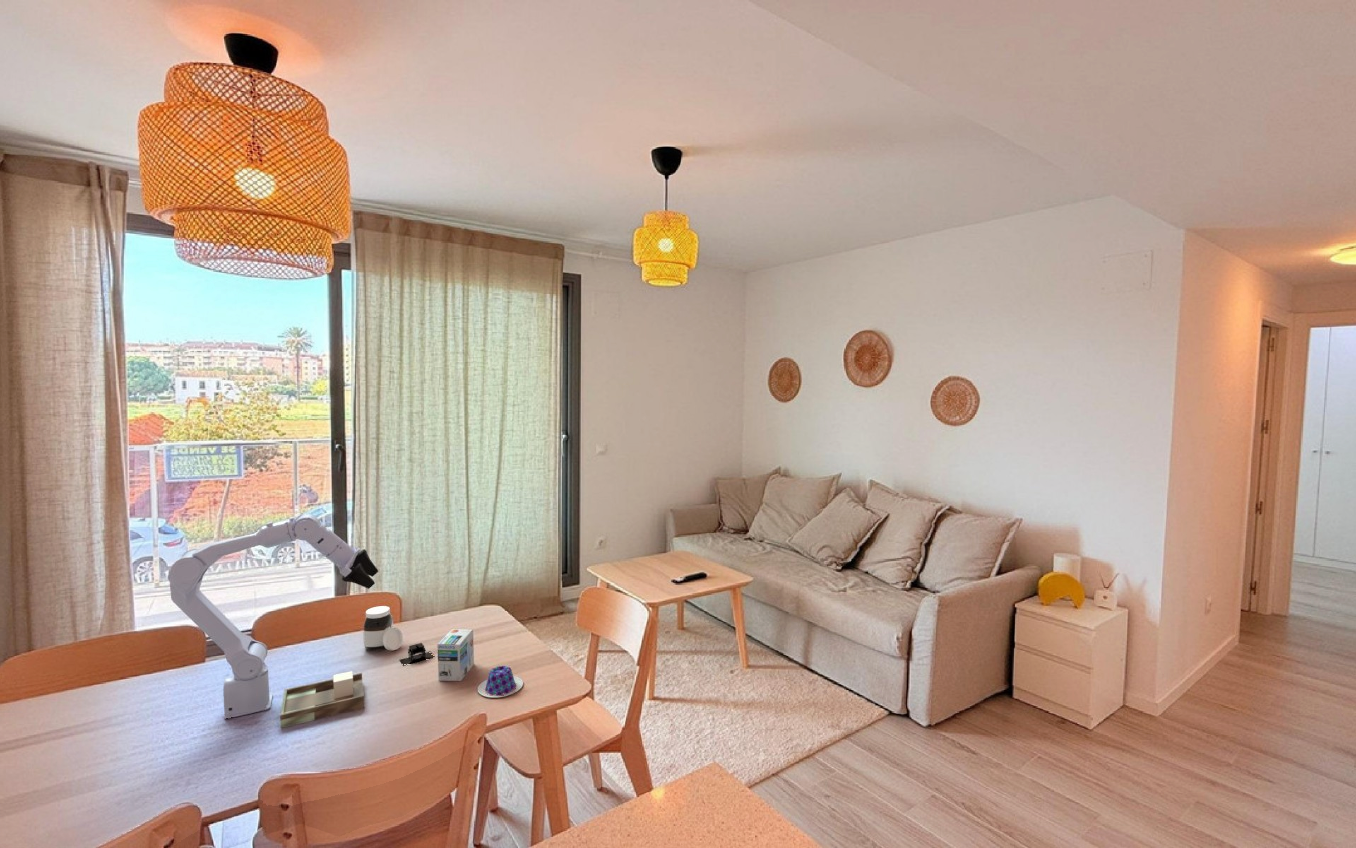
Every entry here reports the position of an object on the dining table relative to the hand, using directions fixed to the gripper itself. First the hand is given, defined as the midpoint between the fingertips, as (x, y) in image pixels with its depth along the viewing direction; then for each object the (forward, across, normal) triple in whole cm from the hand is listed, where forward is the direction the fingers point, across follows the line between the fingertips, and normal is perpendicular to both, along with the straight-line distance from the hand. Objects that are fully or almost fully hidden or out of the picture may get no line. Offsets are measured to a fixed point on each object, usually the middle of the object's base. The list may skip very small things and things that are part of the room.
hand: (373, 579), depth 165 cm
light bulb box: (+35, -6, +4) cm, 36 cm away
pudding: (+42, -19, -6) cm, 47 cm away
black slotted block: (+29, +7, +14) cm, 33 cm away
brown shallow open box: (+13, -13, +27) cm, 33 cm away
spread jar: (+23, +20, +22) cm, 38 cm away
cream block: (+15, -12, +22) cm, 29 cm away
